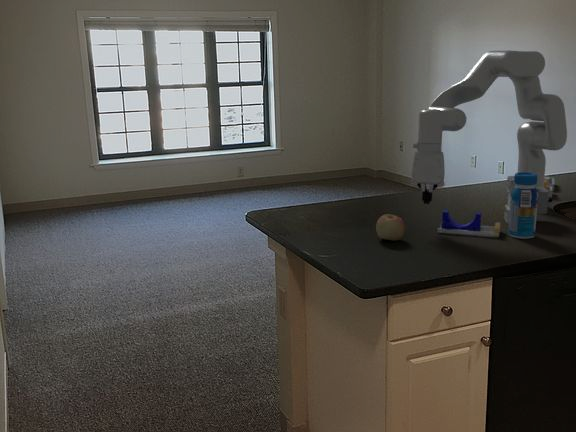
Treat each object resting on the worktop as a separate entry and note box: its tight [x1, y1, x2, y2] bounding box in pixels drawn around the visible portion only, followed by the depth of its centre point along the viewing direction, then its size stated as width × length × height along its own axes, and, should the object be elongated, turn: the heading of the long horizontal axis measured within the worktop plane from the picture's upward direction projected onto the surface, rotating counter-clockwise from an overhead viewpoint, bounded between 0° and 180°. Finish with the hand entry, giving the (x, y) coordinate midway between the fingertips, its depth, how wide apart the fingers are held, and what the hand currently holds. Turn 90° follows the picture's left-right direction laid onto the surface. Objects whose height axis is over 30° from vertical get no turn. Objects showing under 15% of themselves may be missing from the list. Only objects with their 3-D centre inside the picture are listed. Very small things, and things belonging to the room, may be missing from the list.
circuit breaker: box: [503, 175, 553, 224], centre depth 218 cm, size 8×14×15 cm, turn 78°
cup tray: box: [546, 176, 555, 192], centre depth 271 cm, size 15×15×3 cm
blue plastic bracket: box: [440, 209, 482, 231], centre depth 208 cm, size 12×4×6 cm, turn 69°
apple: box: [375, 213, 406, 242], centre depth 200 cm, size 9×9×8 cm
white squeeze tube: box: [437, 221, 502, 239], centre depth 207 cm, size 8×19×3 cm, turn 69°
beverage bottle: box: [507, 172, 538, 240], centre depth 200 cm, size 8×8×20 cm
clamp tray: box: [506, 186, 553, 199], centre depth 257 cm, size 9×17×3 cm, turn 69°
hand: (426, 203), depth 210 cm, fingers closed
